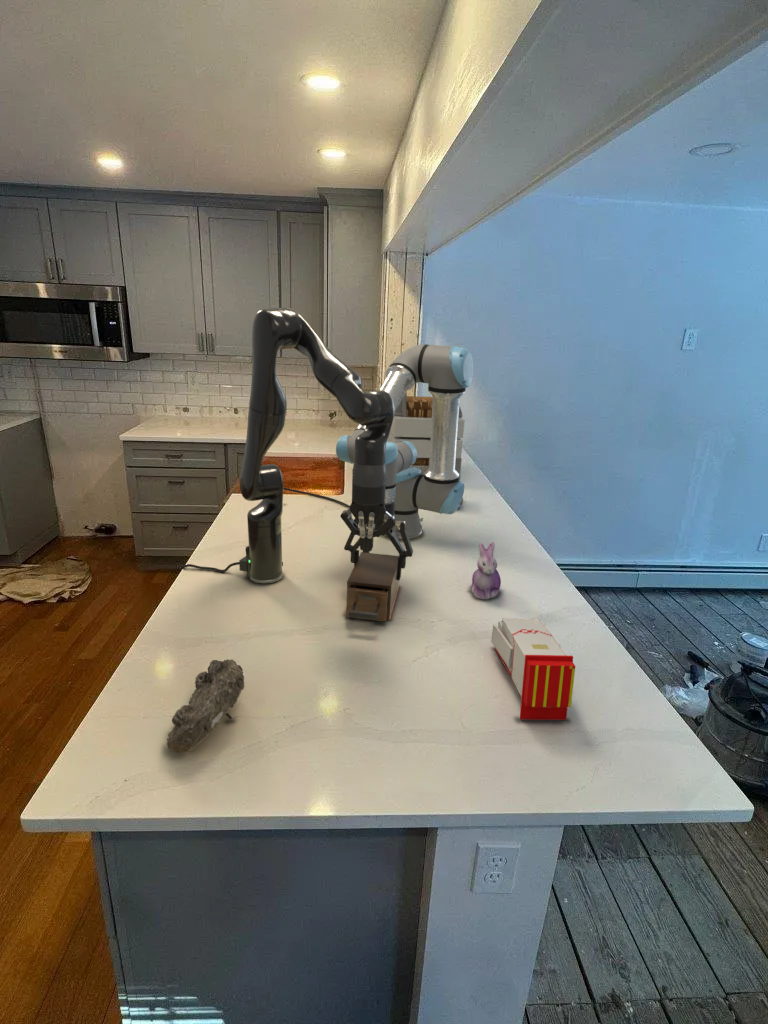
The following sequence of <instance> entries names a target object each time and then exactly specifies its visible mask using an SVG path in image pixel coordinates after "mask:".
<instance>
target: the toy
mask: <svg viewBox="0 0 768 1024" xmlns="http://www.w3.org/2000/svg"><path fill="white" fill-rule="evenodd" d="M490 638H491V639H490V642H491V644H492V646H493V647H494V650H495V652H496V654H497V655H498V657H499V659H500V660H501V662H502V664H503V666H504V667H505V669H506V671H507V672H508V674H509V676H510V677H511V679H512V681H513V683H514V685H515V688H516V690H517V691H518V693H519V695H520V697H521V698H520V710H519V719H520V720H534V721H535V720H539V721H567V716H568V708H572V701H573V692H574V684H575V674H576V673H575V672H576V665H575V663H574V656H573V655H568V654H567V653H566V652H565V650H564V649H563V648H562V646H561V645H560V644H559V643H558V641H557V640H556V639H555V637H554V636H553V634H552V633H551V632H550V631H549V629H548V628H547V626H546V624H545V623H543V621H542V620H541V619H540V618H505V617H503V618H501V620H498V622H497V624H495V623H493V624H492V632H491V637H490Z"/></svg>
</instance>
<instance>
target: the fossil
mask: <svg viewBox="0 0 768 1024" xmlns="http://www.w3.org/2000/svg"><path fill="white" fill-rule="evenodd" d="M243 670H244V669H243V667H242V665H240V664H237V662H236V661H235V660H234V659H232V658H231V659H227V658H226V659H224V660H223V661H222V660H217V659H212V660H211V661H210V663H209V665H208V666H207V671H201V672H199V673H198V674H197V675H196V676H195V680H194V684H195V685H194V687H195V689H194V690H193V693H192V694H191V697H190V698H189V700H188V704H184V705H182V706H181V707H180V709H177V710H176V711H175V713H174V715H173V716H172V718H171V723H172V724H173V727H172V730H171V731H170V732H168V734H167V738H166V741H167V742H166V745H167V749H168V750H169V751H173V752H174V753H176V754H178V753H182V752H188V751H189V752H192V751H193V750H195V748H196V747H197V746H199V744H200V743H201V742H203V741H204V740H205V739H206V738H207V737H208V736H209V735H210V734H211V733H212V732H214V730H215V729H217V727H218V726H219V724H220V722H221V721H222V720H223V719H224V718H225V716H226V717H227V719H229V720H233V717H232V715H230V714H229V710H230V709H231V708H234V706H235V704H236V703H237V702H238V699H239V697H240V695H241V693H242V691H243V690H245V689H244V688H245V675H244V671H243Z"/></svg>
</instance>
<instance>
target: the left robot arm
mask: <svg viewBox="0 0 768 1024" xmlns="http://www.w3.org/2000/svg"><path fill="white" fill-rule="evenodd" d="M251 334H252V335H251V337H252V339H251V342H252V343H251V345H252V347H251V349H252V351H251V352H252V356H251V357H252V369H251V382H250V383H251V384H250V395H249V402H248V411H247V412H248V414H247V428H246V439H245V447H244V452H243V457H242V462H241V468H240V473H239V491H240V494H241V496H242V498H243V499H244V500H246V501H248V502H256V501H260V502H259V503H258V504H257V505H256V506H254V507H252V508H251V509H250V510H249V511H248V512H247V515H246V516H247V518H246V519H247V538H248V542H247V543H248V545H247V546H245V556H244V557H242V558H241V559H239V560H238V561H236V562H233V563H230V564H228V566H226V568H224V569H220V568H217V567H212V566H211V567H210V566H200V565H195V564H191V563H188V564H187V565H186V564H184V565H182V566H181V567H180V570H184V569H185V568H188V567H189V568H194V569H199V570H209V571H215V572H218V573H226V572H227V571H229V569H230V568H231V567H234V566H237V565H238V566H239V571H241V572H245V573H246V578H247V579H249V580H250V581H252V582H253V583H256V584H263V585H264V584H273V583H276V582H278V581H280V580H281V579H282V578H283V575H284V573H283V567H284V561H283V541H282V540H283V537H282V533H283V532H282V516H283V511H284V510H283V509H284V489H283V487H284V476H283V472H282V471H281V468H280V467H279V466H278V465H277V464H275V463H269V464H263V460H264V458H265V456H266V454H267V453H268V451H269V449H270V448H271V447H272V446H273V444H274V443H275V442H276V441H277V439H278V438H279V436H280V435H281V434H282V431H283V429H284V427H285V424H286V423H285V422H286V415H287V407H288V401H287V396H286V394H285V391H284V389H283V387H282V385H281V383H280V380H279V378H278V376H277V359H278V358H277V357H278V352H279V351H281V350H289V349H294V350H295V351H298V352H299V353H300V354H302V355H303V356H304V357H306V359H307V360H308V362H309V364H310V368H311V371H312V374H313V376H314V378H315V379H316V381H317V382H318V383H319V384H320V386H322V387H323V388H324V389H325V390H327V392H329V393H330V395H332V396H333V397H334V398H336V400H337V402H338V403H339V405H340V407H341V408H342V410H343V411H344V413H345V414H346V416H347V417H348V418H349V419H350V420H351V421H352V422H354V423H355V424H356V425H358V424H359V425H363V426H366V427H365V430H364V432H363V433H362V434H360V435H359V436H357V437H356V439H355V444H354V464H352V465H353V466H352V475H351V476H352V477H351V478H352V479H351V480H352V481H351V484H352V485H351V502H350V504H349V506H350V507H349V508H347V509H344V510H342V512H341V513H340V518H341V520H342V521H343V522H344V524H345V526H347V528H348V529H349V531H350V533H351V532H352V533H353V534H354V535H355V536H358V537H359V538H360V546H359V548H360V551H362V552H363V553H371V552H372V550H373V548H374V538H380V537H381V536H382V535H381V534H382V533H383V532H384V531H385V530H386V529H387V528H388V527H389V526H390V525H391V524H392V523H393V521H394V519H395V516H394V515H391V514H389V513H388V512H387V508H386V506H385V486H386V465H385V461H386V443H387V439H388V437H389V433H390V430H391V426H392V422H393V418H394V402H393V399H392V397H391V396H390V394H389V393H387V392H386V391H384V390H379V389H374V390H367V391H365V390H363V389H362V384H363V381H362V379H361V377H360V375H359V374H358V373H357V372H356V371H354V370H353V369H352V368H351V367H350V366H349V365H348V364H346V363H345V362H344V361H343V360H342V359H340V358H339V357H338V356H337V355H336V354H335V353H334V352H333V351H332V350H331V349H330V348H329V347H328V345H327V344H326V343H325V342H324V341H323V340H322V339H321V337H320V336H319V335H318V334H317V333H316V331H315V330H314V328H312V326H311V325H310V324H309V322H307V320H306V319H305V318H304V317H303V315H301V313H299V311H297V310H296V309H293V308H292V307H275V308H274V307H273V308H262V309H260V310H258V312H256V314H255V316H254V319H253V323H252V333H251ZM383 516H384V519H383V521H384V523H383V524H382V525H381V526H380V527H379V528H378V529H377V530H375V524H376V523H377V522H378V521H379V520H380V519H381V518H382V517H383ZM353 517H354V518H353ZM354 519H356V520H357V521H358V522H359V527H358V525H357V524H356V523H355V521H354ZM367 524H368V534H367Z"/></svg>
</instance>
